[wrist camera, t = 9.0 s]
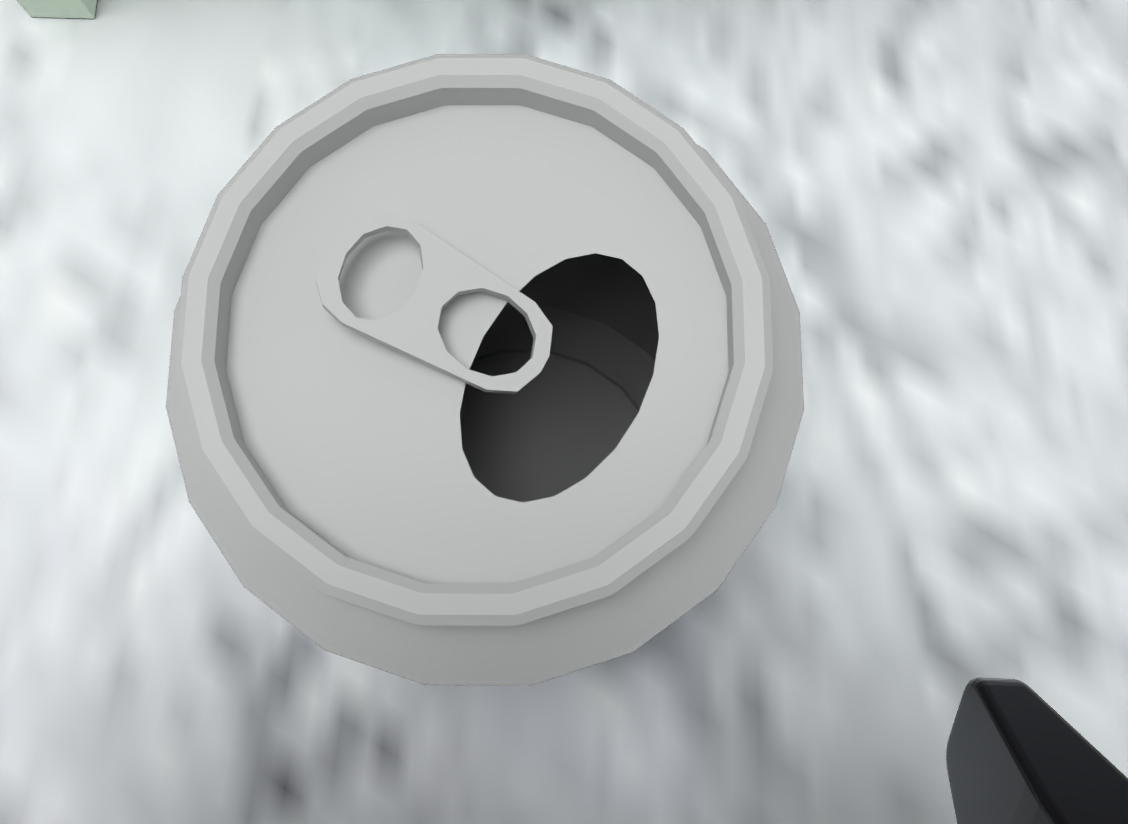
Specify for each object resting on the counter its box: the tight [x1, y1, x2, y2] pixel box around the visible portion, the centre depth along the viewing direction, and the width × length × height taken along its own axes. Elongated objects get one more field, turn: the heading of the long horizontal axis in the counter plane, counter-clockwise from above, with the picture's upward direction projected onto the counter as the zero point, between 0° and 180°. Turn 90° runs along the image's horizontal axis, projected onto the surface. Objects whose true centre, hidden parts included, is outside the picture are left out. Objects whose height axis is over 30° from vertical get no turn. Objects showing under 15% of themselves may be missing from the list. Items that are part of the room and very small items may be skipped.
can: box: [166, 54, 804, 685], centre depth 17 cm, size 8×8×12 cm
